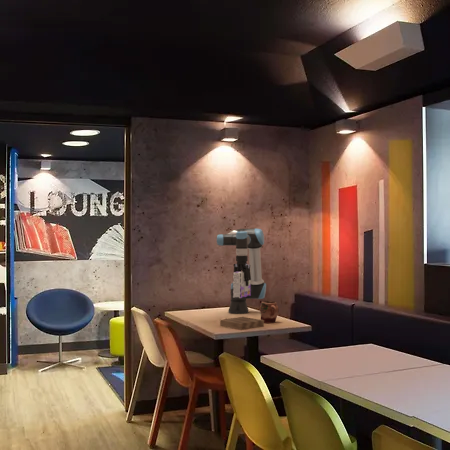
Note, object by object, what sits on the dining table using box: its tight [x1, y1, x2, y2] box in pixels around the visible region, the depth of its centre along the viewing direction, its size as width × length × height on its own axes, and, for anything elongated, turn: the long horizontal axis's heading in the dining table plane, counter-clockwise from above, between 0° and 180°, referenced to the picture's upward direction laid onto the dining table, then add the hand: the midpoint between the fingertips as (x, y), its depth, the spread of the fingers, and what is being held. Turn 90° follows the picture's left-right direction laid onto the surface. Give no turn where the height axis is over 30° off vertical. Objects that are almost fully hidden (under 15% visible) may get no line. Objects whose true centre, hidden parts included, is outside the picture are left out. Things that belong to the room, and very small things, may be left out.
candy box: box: [232, 270, 251, 298], centre depth 391 cm, size 14×6×16 cm, turn 149°
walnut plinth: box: [219, 316, 265, 331], centre depth 391 cm, size 20×20×4 cm
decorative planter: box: [258, 300, 280, 324], centre depth 406 cm, size 20×12×14 cm, turn 26°
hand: (241, 290), depth 391 cm, fingers closed on candy box, 7 cm apart
